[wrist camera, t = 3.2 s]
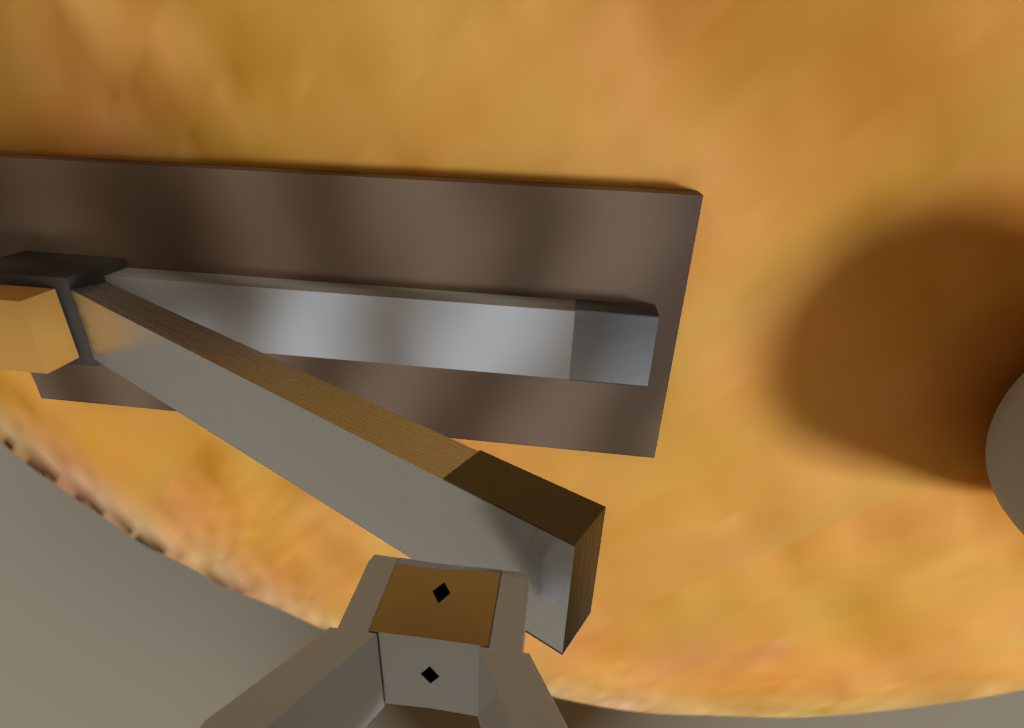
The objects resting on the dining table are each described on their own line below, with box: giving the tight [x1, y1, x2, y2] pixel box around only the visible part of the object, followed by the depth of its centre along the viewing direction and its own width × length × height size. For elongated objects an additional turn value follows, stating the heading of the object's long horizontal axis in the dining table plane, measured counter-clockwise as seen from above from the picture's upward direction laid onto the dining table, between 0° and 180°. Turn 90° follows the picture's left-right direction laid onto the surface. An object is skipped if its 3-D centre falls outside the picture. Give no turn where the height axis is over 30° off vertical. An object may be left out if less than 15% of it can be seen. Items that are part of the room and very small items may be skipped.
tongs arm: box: [70, 282, 606, 654], centre depth 16 cm, size 21×3×1 cm, turn 88°
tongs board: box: [0, 153, 703, 458], centre depth 22 cm, size 29×11×4 cm, turn 88°
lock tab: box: [0, 284, 79, 374], centre depth 20 cm, size 4×3×1 cm
